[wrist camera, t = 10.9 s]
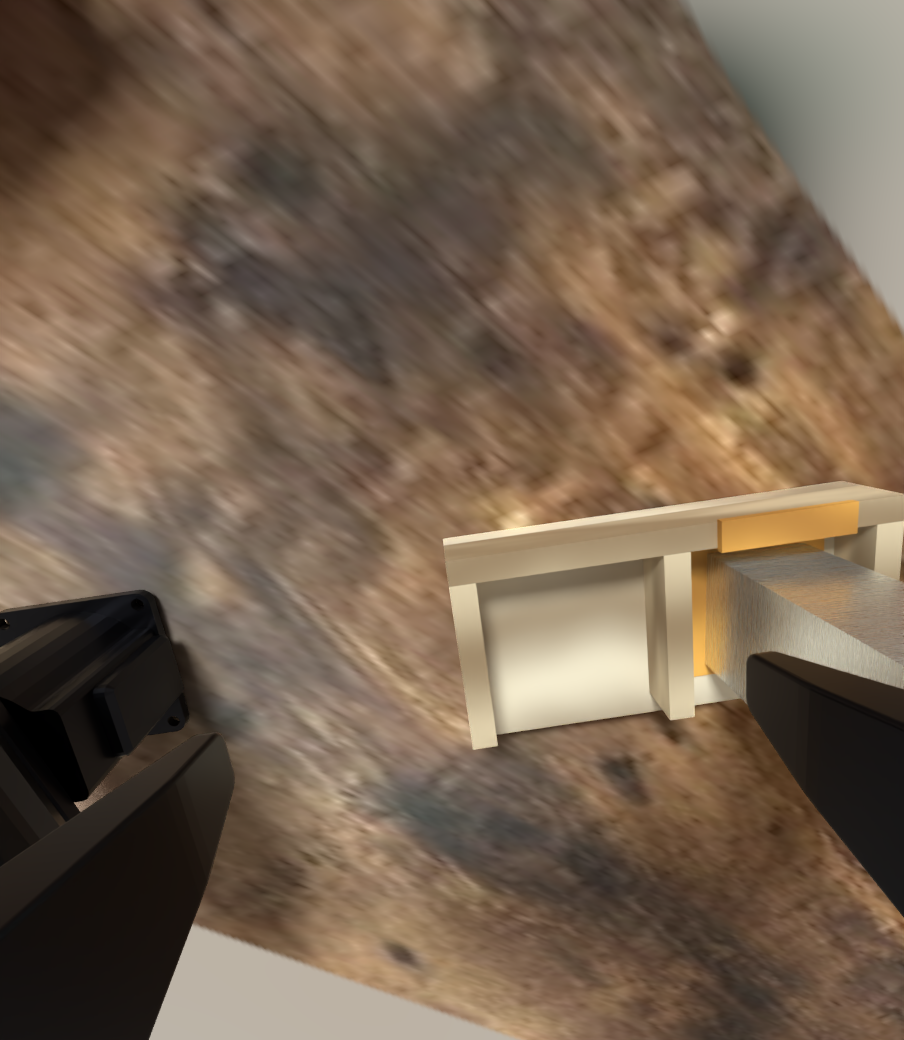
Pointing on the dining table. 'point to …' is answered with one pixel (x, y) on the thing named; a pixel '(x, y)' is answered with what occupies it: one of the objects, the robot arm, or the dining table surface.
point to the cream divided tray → (629, 601)
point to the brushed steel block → (802, 613)
